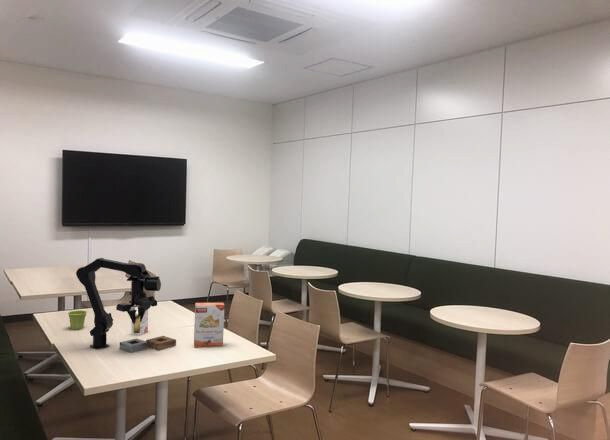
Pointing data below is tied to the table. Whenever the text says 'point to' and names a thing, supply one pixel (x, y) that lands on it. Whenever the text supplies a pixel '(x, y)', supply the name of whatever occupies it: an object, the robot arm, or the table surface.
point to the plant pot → (77, 319)
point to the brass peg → (137, 324)
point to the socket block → (133, 345)
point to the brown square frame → (161, 342)
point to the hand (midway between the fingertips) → (137, 322)
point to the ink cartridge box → (141, 324)
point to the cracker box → (209, 324)
